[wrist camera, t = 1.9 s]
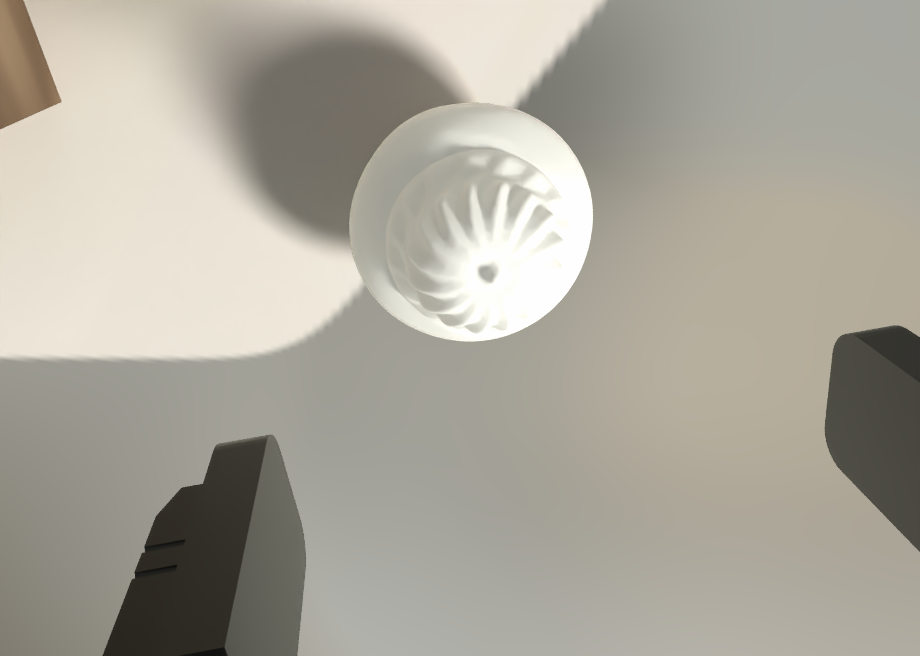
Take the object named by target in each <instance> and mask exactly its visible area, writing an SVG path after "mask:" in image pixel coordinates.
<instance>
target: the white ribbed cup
mask: <svg viewBox="0 0 920 656" xmlns="http://www.w3.org/2000/svg"><path fill="white" fill-rule="evenodd" d="M592 209H593V208H592V199H591V194H590V189H589V185H588V182H587V179H586V176H585V174H584V171H583V169H582V167H581V165H580V163H579V161H578V160H577V158H576V156H575V155H574V153H573V152H572V150H571V149H570V148H569V146H568V145H567V144H566V143H565V142H564V140H563V139H562V138H561V137H560V136H559V135H558V134H557V133H556V132H555V131H554V130H552V129H551V128H550V127H549V126H547V125H546V124H544V123H543V122H541V121H540V120H538V119H537V118H535V117H532V116H531V115H529V114H527V113H524V112H522V111H519V110H516V109H513V108H509V107H506V106H500V105H494V104H489V103H459V104H451V105H444V106H440V107H436V108H432V109H429V110H427V111H424V112H421V113H419V114H417V115H415V116H413V117H412V118H410V119H408V120H407V121H405V122H404V123H402V124H401V125H400V126H398V127H397V128H396V129H395V130H394V131H392V132H391V133H390V134H389V135H388V136H387V137H386V139H385V140H384V141H383V142H382V143H381V145H380V146H379V147H378V148H377V150H376V151H375V153H374V154H373V156H372V157H371V159H370V161H369V162H368V164H367V165H366V167H365V169H364V171H363V173H362V175H361V177H360V179H359V182H358V185H357V188H356V190H355V193H354V197H353V200H352V205H351V210H350V219H349V236H350V244H351V249H352V254H353V257H354V261H355V264H356V266H357V269H358V271H359V274H360V276H361V277H362V279H363V282H364V283H365V285H366V287H367V288H368V290H369V291H370V293H371V294H372V295H373V296H374V298H375V299H376V300H377V301H378V302H379V303H380V305H381V306H382V307H383V308H385V309H386V310H387V311H388V312H389V313H390V314H391V315H393V316H394V317H396V318H397V319H399V320H400V321H402V322H403V323H405V324H407V325H408V326H410V327H412V328H414V329H416V330H419V331H421V332H424V333H426V334H429V335H432V336H436V337H439V338H444V339H450V340H457V341H483V340H490V339H495V338H499V337H503V336H506V335H509V334H512V333H514V332H517V331H519V330H521V329H523V328H525V327H527V326H529V325H531V324H532V323H534V322H536V321H537V320H539V319H540V318H542V317H543V316H544V315H546V314H547V313H548V312H549V311H550V310H551V309H552V308H554V307H555V306H556V304H558V303H559V302H560V300H561V299H562V298H563V297H564V296H565V294H566V293H567V292H568V290H569V289H570V288H571V286H572V284H573V283H574V281H575V280H576V278H577V276H578V274H579V272H580V270H581V267H582V265H583V262H584V260H585V257H586V254H587V251H588V247H589V243H590V238H591V231H592V221H593V220H592V218H593V210H592Z"/></svg>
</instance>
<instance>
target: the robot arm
mask: <svg viewBox="0 0 920 656" xmlns="http://www.w3.org/2000/svg"><path fill="white" fill-rule="evenodd" d="M825 437H826V442H827V446H828V448H829V452H830V454H831V456H832V458H833V460H834V462H835V463H836V465H837V466H838V468H839V469H840V470H841V471H842V472H843V473H844V474H845V475H846V476H847V477H848V478H849V479H850V480H851V481H852V482H853V483H854V484H855V485H856V486H857V487H858V489H859V490H860V491H861V492H862V493H863V494H864V495H865V496H866V497H867V498H868V499H869V500H870V501H871V502H872V503H873V504H874V505H875V506H876V507H877V508H878V509H879V510H880V511H881V512H882V513H883V514H884V515H885V516H886V517H887V518H888V519H889V521H890V522H891V523H892V524H893V525H894V526H895V527H896V528H897V529H898V530H899V531H900V532H901V533H902V534H903V535H904V536H905V537H906V538H907V539H908V540H909V541H910V542H911V543H912V544H913V545H914V546H915V547H916V548H917V549H918V550H919V551H920V337H918V336H917V335H915V334H914V333H912V332H911V331H909V330H908V329H906V328H904V327H901V326H889V327H883V328H878V329H872V330H866V331H861V332H855V333H849V334H845V335H842V336H840V337H839V338H838V340H837V341H836V343H835V345H834V349H833V355H832V364H831V373H830V383H829V392H828V401H827V410H826V419H825ZM305 568H306V552H305V541H304V534H303V528H302V524H301V520H300V516H299V513H298V509H297V506H296V503H295V500H294V496H293V493H292V489H291V486H290V482H289V479H288V476H287V472H286V469H285V466H284V462H283V458H282V455H281V452H280V449H279V446H278V443H277V441H276V439H275V437H274V436H273V435H266V436H260V437H255V438H249V439H243V440H237V441H232V442H226V443H220V444H217V445H216V446H215V448H214V451H213V454H212V457H211V460H210V463H209V466H208V470H207V473H206V476H205V479H204V482H203V484H200V485H194V486H189V487H183V488H181V489H180V490H179V491H178V492H177V493H176V495H175V496H174V497H173V498H172V499H171V500H170V501H169V503H168V504H167V505H166V506H165V507H164V508H163V509H162V510H161V511H160V512H159V514H158V515H157V516H156V518H155V520H154V523H153V526H152V528H151V531H150V534H149V536H148V539H147V541H146V544H145V553H142V554H141V557H140V559H139V562H138V565H137V567H136V570H135V579H132V581H131V583H130V586H129V588H128V591H127V594H126V596H125V599H124V602H123V604H122V607H121V609H120V612H119V614H118V617H117V620H116V622H115V625H114V627H113V630H112V633H111V635H110V638H109V640H108V643H107V646H106V648H105V651H104V654H103V656H297V651H298V640H299V631H300V620H301V611H302V599H303V590H304V579H305Z"/></svg>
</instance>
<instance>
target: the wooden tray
mask: <svg viewBox="0 0 920 656" xmlns="http://www.w3.org/2000/svg"><path fill="white" fill-rule="evenodd" d="M60 102H61V99H60V97H59V94H58V91H57V89H56V86H55V83H54V81H53V78H52V75H51V73H50V70H49V67H48V65H47V62H46V59H45V57H44V54H43V51H42V49H41V46H40V43H39V41H38V38H37V35H36V33H35V30H34V27H33V25H32V22H31V20H30V17H29V14H28V12H27V9H26V6H25V4H24V1H23V0H0V129H2V128H4V127H6V126H9V125H11V124H13V123H15V122H18V121H20V120H22V119H24V118H26V117H29V116H31V115H33V114H35V113H38V112H40V111H42V110H44V109H47V108H49V107H51V106H53V105H56V104H58V103H60Z"/></svg>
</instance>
